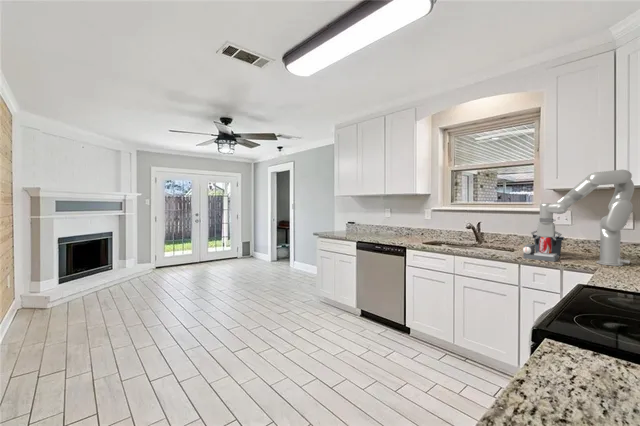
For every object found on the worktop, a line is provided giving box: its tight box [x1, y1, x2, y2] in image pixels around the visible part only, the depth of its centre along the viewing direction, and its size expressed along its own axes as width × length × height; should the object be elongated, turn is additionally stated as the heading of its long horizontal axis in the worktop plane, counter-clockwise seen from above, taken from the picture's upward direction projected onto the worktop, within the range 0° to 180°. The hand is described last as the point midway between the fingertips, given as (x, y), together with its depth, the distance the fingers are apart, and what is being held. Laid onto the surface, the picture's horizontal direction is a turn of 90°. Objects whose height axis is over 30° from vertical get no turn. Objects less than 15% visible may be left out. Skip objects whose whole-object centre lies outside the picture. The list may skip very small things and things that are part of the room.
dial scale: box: [522, 243, 560, 263], centre depth 218 cm, size 18×13×9 cm
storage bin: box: [532, 234, 565, 257], centre depth 235 cm, size 21×16×14 cm
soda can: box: [539, 237, 552, 254], centre depth 216 cm, size 7×7×12 cm
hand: (545, 245), depth 216 cm, fingers open, 9 cm apart
